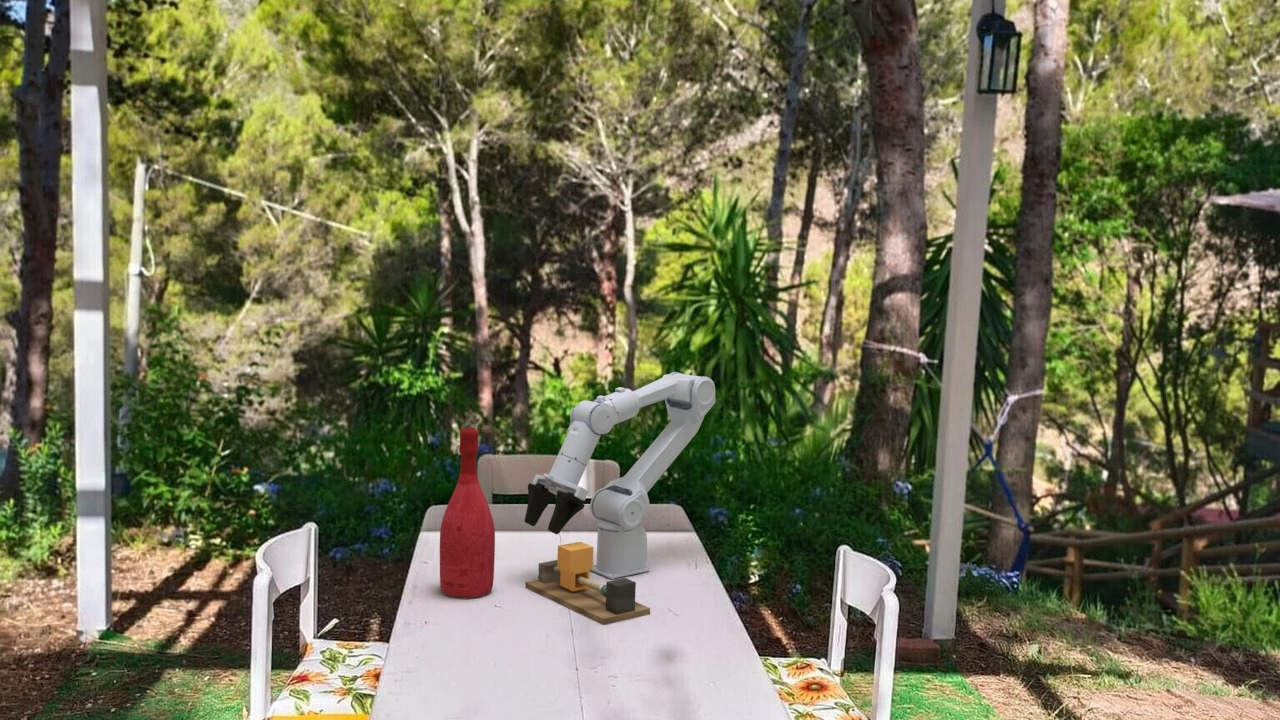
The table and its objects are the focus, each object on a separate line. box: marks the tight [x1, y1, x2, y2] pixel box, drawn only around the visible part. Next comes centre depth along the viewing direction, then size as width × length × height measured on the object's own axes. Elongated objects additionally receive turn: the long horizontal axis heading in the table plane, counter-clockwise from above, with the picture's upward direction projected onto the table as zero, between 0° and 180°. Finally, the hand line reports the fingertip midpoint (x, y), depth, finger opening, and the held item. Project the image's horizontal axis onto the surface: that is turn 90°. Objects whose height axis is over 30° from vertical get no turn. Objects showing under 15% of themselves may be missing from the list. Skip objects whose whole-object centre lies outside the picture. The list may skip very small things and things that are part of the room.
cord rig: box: [525, 559, 651, 626], centre depth 199 cm, size 24×10×6 cm, turn 39°
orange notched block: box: [557, 541, 594, 591], centre depth 202 cm, size 4×5×8 cm
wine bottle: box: [439, 427, 496, 599], centre depth 201 cm, size 10×10×30 cm
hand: (540, 528), depth 204 cm, fingers open, 7 cm apart
